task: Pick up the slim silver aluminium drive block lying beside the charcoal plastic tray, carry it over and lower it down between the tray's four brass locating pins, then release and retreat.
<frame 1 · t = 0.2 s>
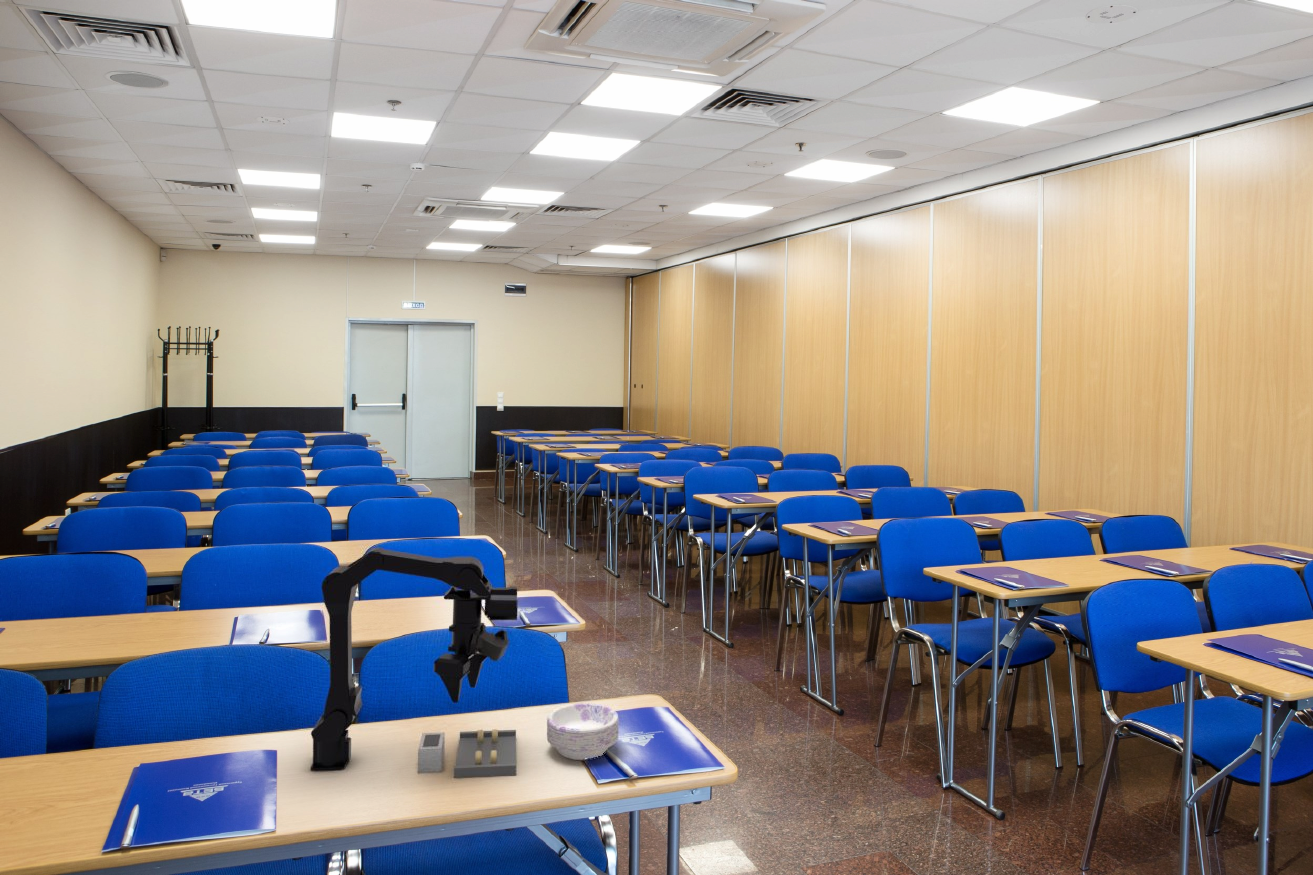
hand: (464, 694, 177), 14 cm above the table, fingers open, 9 cm apart
drive: (431, 764, 175), on the table
tray: (486, 757, 179), on the table
paper bowls: (582, 752, 183), on the table
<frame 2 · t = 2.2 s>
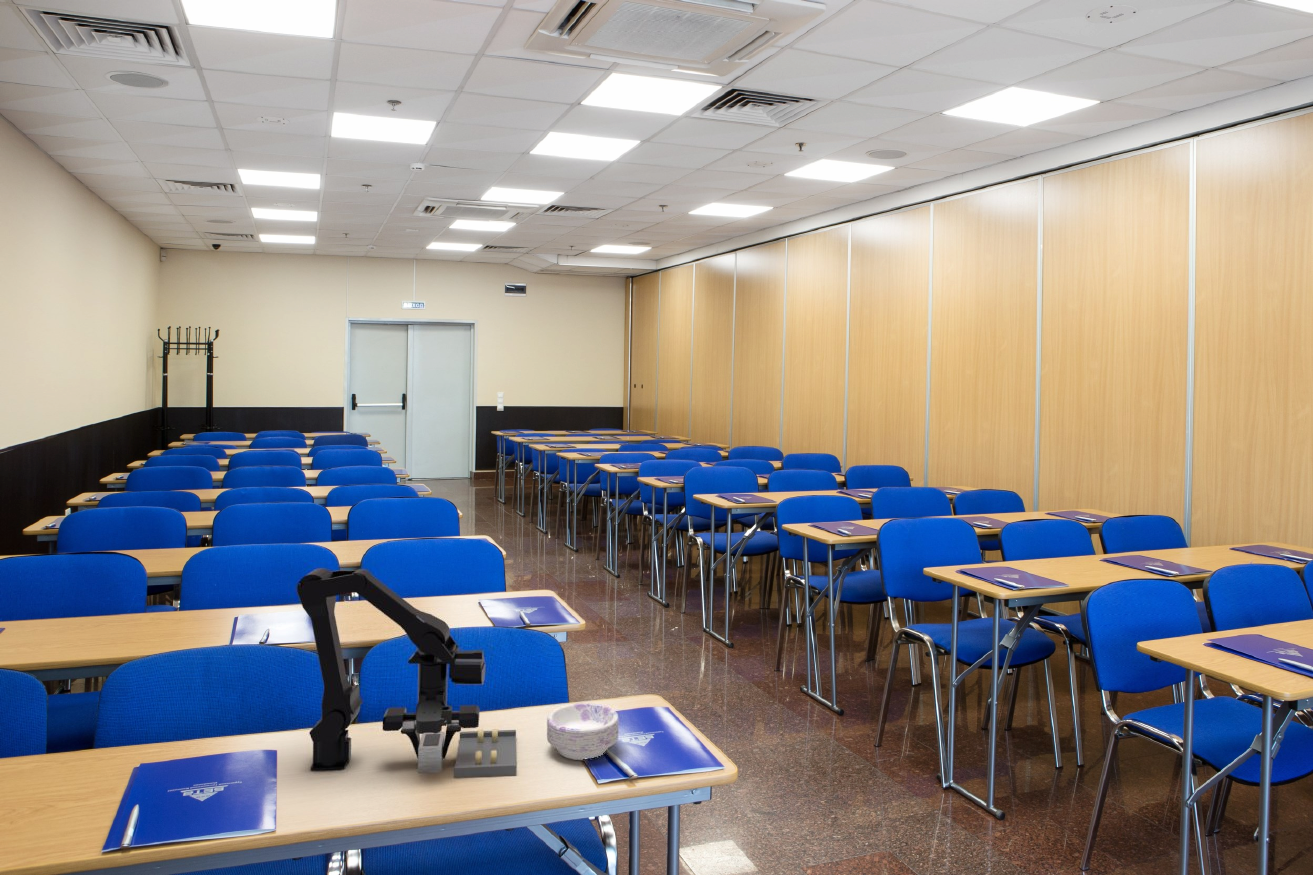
hand: (431, 758, 175), 1 cm above the table, fingers closed on drive, 4 cm apart
drive: (431, 763, 175), on the table, touching gripper
everything else where it was.
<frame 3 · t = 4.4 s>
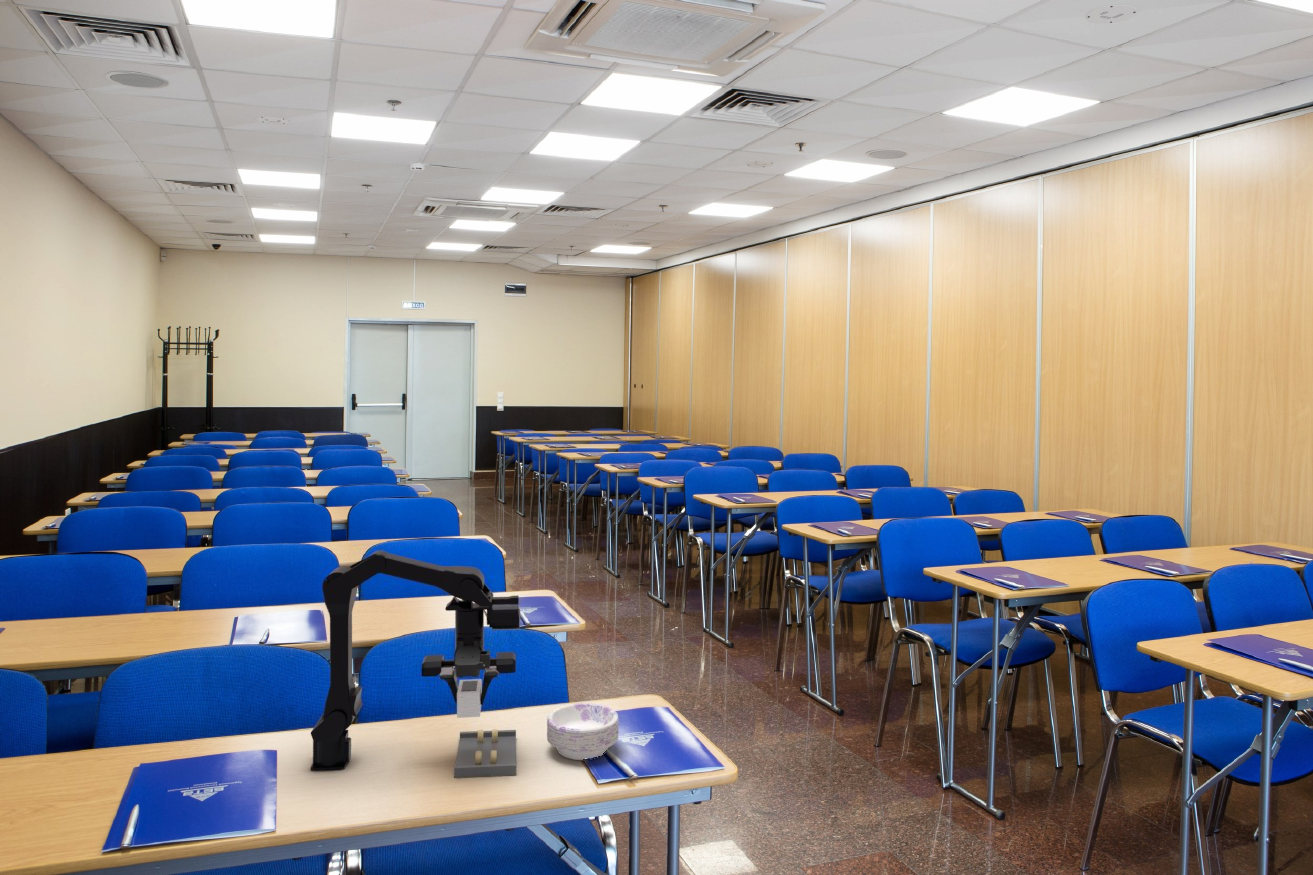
hand: (469, 704, 177), 12 cm above the table, fingers closed on drive, 4 cm apart
drive: (469, 709, 177), point 11 cm above the table, touching gripper
everything else where it was.
when the fingers open (3 cm above the table, at t = 6.5 s): drive drops 1 cm, resting on tray.
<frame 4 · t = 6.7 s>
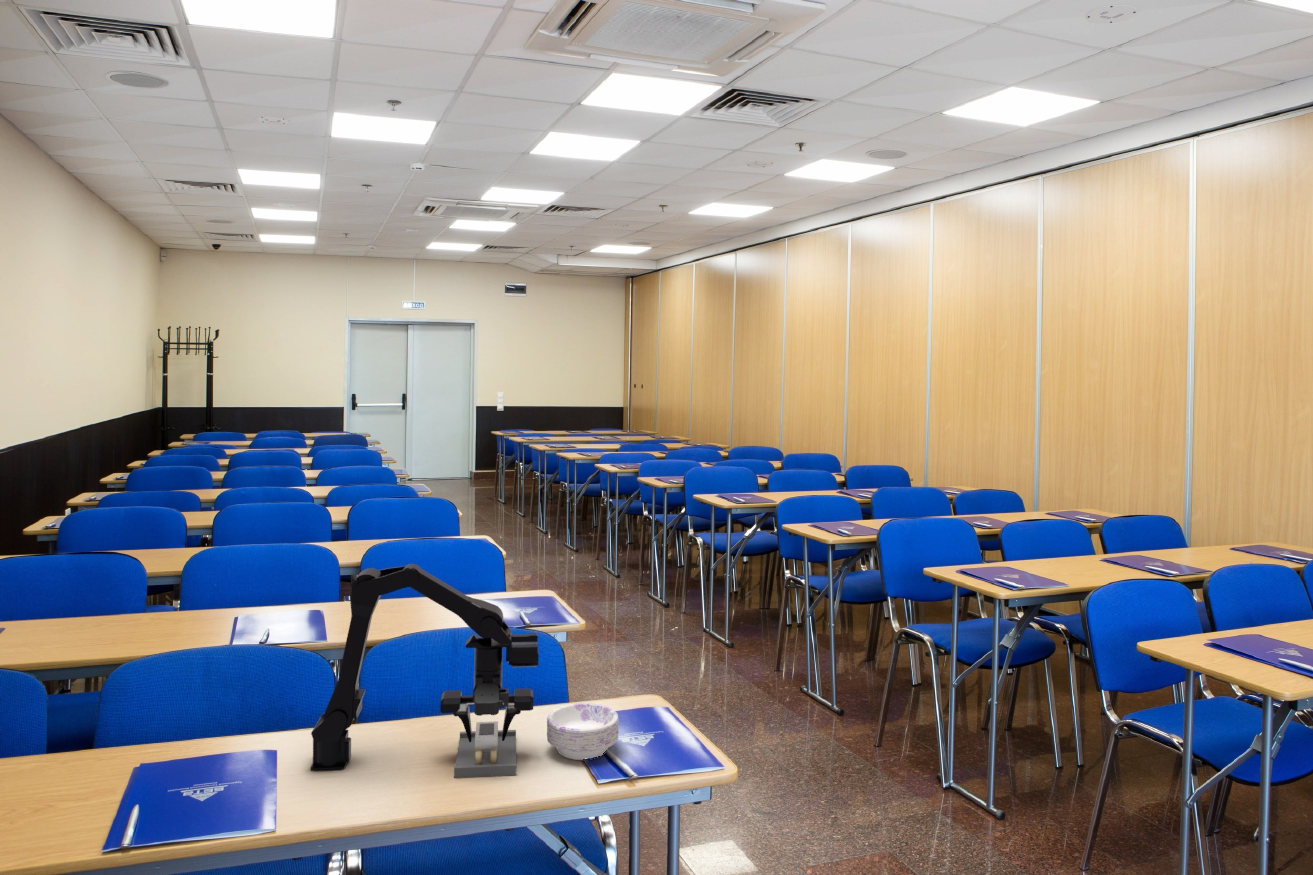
hand: (486, 740, 179), 3 cm above the table, fingers open, 6 cm apart
drive: (486, 752, 179), point 1 cm above the table, touching tray
everything else where it was.
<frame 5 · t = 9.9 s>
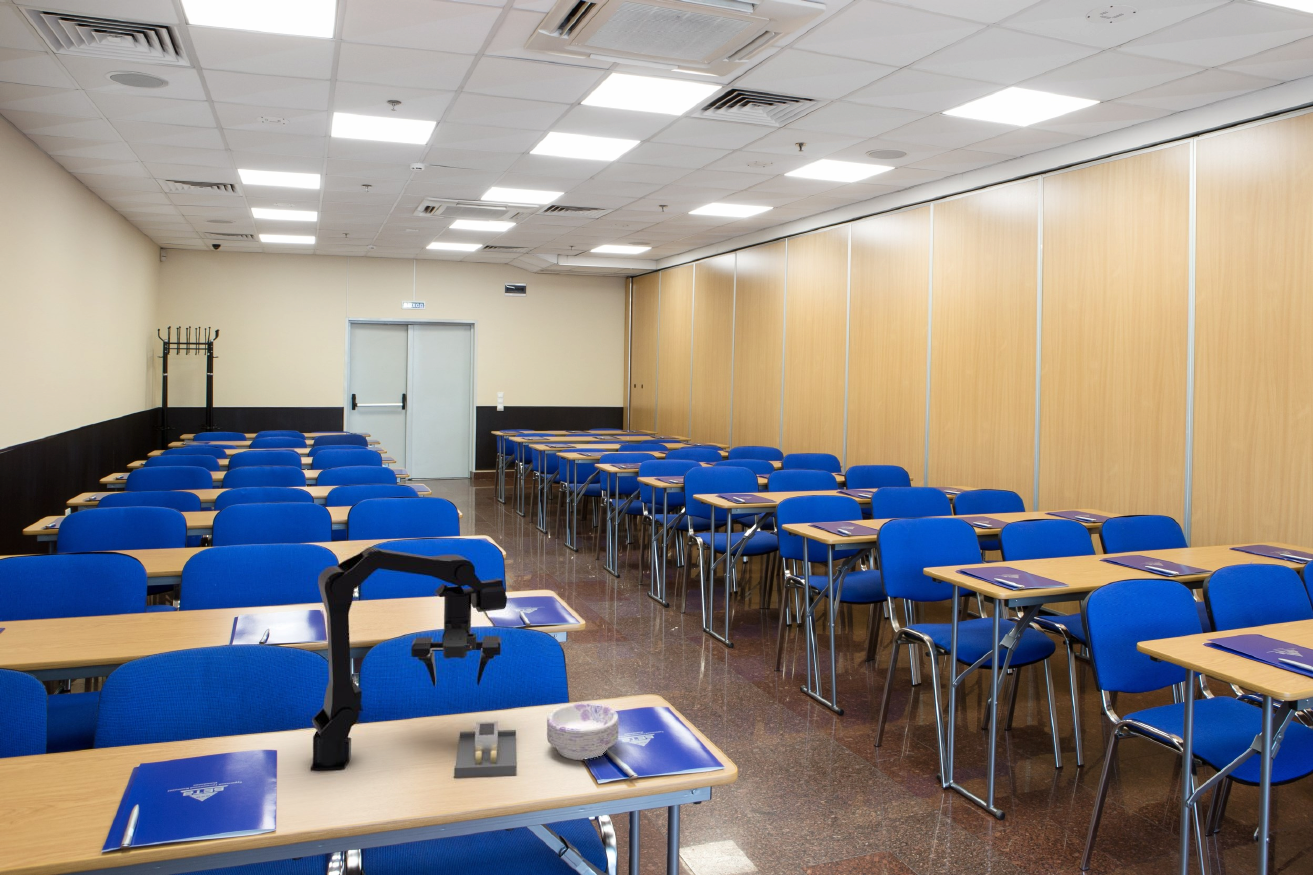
hand: (456, 685, 187), 12 cm above the table, fingers open, 9 cm apart
nothing on the table moved.
at the end: drive 0.1 cm off-centre on the tray, point 1.0 cm above the tray's base; drive tilted 0°; the gripper is holding nothing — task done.
